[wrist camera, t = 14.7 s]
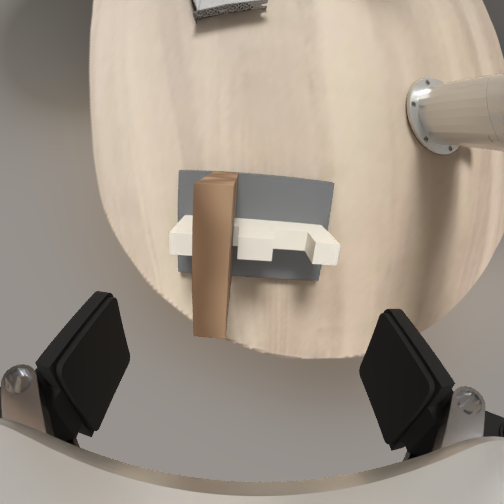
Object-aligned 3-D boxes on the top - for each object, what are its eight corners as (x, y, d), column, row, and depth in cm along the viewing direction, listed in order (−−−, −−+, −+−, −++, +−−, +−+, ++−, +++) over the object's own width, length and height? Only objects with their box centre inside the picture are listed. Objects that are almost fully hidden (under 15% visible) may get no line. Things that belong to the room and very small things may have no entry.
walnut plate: (238, 172, 33) (233, 185, 20) (231, 275, 38) (225, 338, 25) (214, 171, 33) (193, 183, 20) (210, 273, 38) (193, 336, 24)
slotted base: (331, 182, 35) (357, 192, 26) (316, 276, 39) (333, 310, 31) (181, 169, 34) (160, 176, 25) (180, 268, 38) (163, 300, 30)
